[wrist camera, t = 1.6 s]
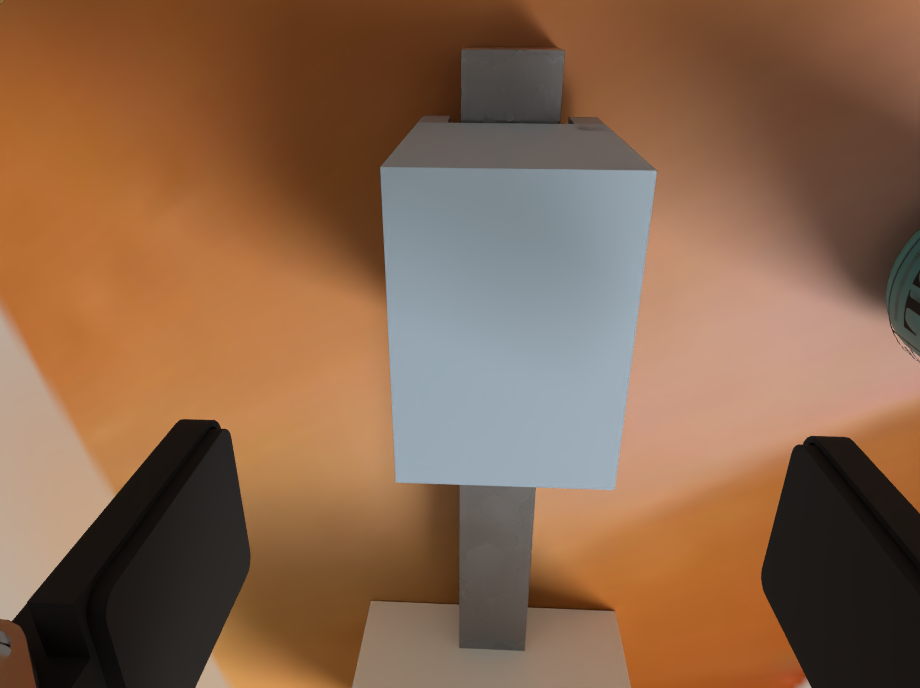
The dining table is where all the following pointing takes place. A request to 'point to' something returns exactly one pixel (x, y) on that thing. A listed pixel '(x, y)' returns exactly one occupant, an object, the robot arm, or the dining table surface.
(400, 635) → the cabinet
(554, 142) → the carriage
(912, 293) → the beverage bottle
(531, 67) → the rail
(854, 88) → the dining table surface
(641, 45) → the dining table surface
